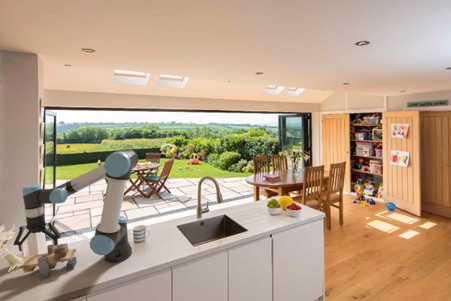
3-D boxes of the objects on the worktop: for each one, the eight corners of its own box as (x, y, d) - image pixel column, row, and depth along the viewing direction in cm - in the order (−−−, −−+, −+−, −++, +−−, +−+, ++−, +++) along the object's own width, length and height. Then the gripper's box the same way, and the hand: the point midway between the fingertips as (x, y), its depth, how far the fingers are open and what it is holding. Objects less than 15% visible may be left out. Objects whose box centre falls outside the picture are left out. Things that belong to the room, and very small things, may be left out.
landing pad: (76, 262, 140) (76, 256, 139) (73, 269, 133) (72, 263, 133) (70, 263, 139) (69, 257, 138) (67, 270, 132) (66, 264, 132)
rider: (68, 251, 137) (67, 243, 136) (65, 256, 132) (64, 247, 132) (57, 253, 135) (56, 244, 135) (54, 258, 131) (53, 249, 130)
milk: (38, 254, 150) (34, 219, 147) (47, 254, 149) (43, 219, 146) (29, 259, 144) (24, 223, 141) (39, 260, 143) (34, 223, 140)
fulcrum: (57, 262, 140) (55, 243, 139) (48, 278, 126) (46, 257, 125) (50, 263, 139) (48, 245, 138) (40, 279, 125) (37, 259, 124)
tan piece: (77, 257, 141) (75, 242, 140) (72, 268, 131) (70, 252, 130) (26, 266, 134) (24, 250, 133) (16, 278, 123) (14, 261, 122)
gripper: (65, 209, 135) (69, 246, 138) (9, 215, 127) (14, 254, 130) (60, 214, 128) (65, 252, 131) (1, 221, 120) (7, 262, 123)
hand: (39, 253), depth 130 cm, fingers open, 13 cm apart
